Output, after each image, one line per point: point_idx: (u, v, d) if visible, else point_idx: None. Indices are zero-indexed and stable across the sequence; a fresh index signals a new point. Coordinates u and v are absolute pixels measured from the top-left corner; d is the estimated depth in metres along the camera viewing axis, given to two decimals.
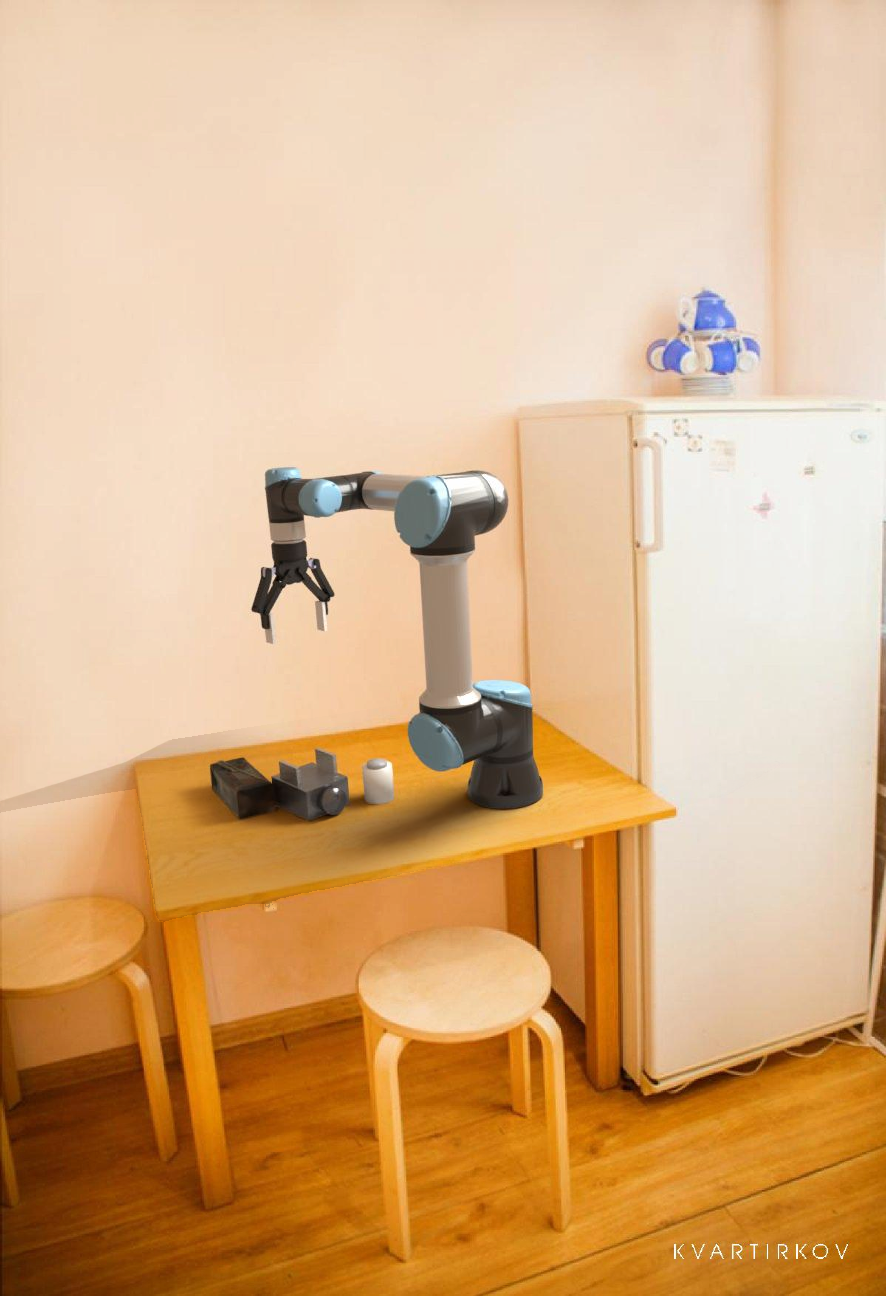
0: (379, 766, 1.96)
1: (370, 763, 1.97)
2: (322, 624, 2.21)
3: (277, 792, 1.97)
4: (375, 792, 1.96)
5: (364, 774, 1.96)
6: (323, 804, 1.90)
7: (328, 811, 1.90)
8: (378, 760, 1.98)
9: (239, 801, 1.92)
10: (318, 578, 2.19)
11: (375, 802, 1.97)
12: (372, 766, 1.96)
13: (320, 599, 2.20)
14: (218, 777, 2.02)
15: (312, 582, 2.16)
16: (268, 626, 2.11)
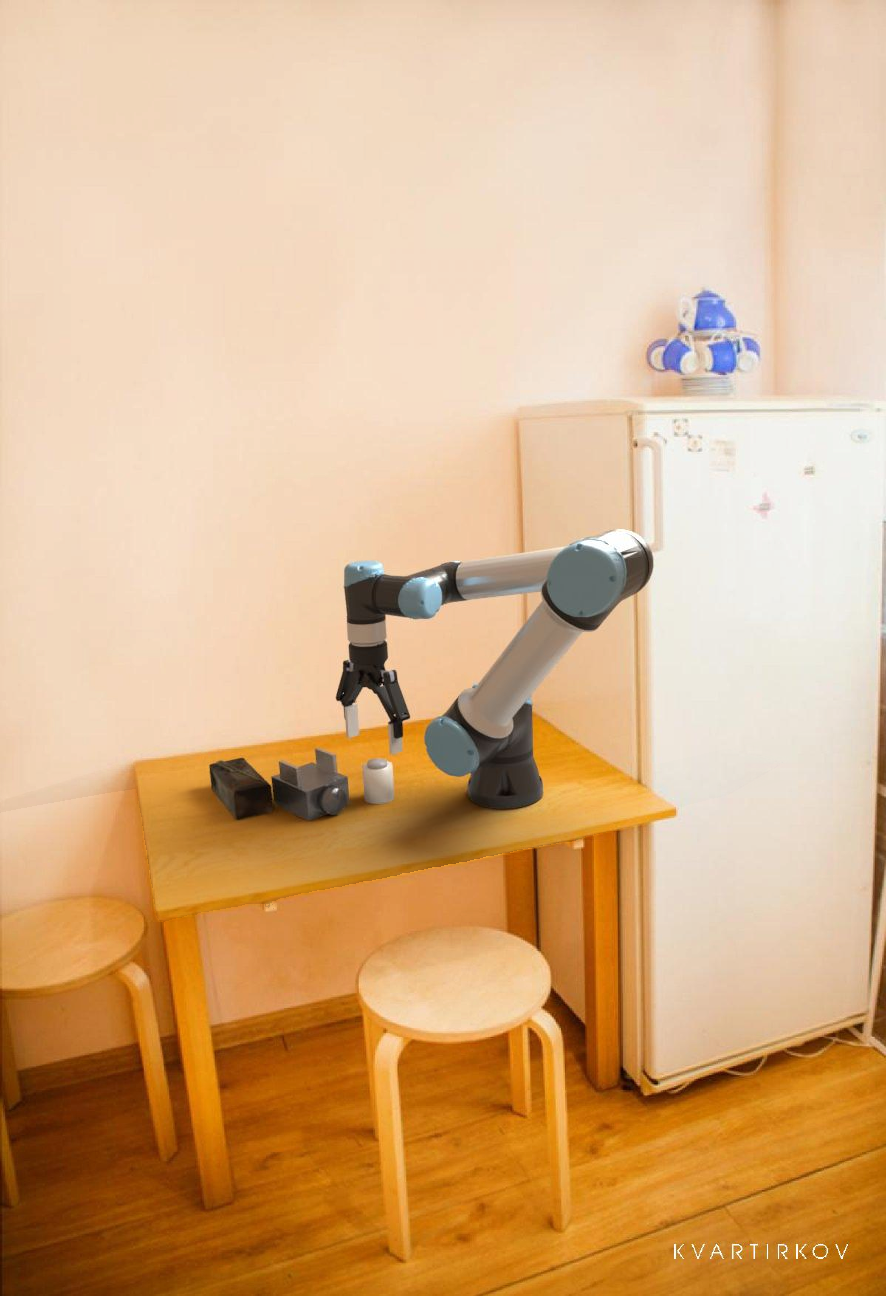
0: (379, 766, 1.96)
1: (370, 763, 1.97)
2: None
3: (277, 792, 1.97)
4: (375, 792, 1.96)
5: (365, 773, 1.96)
6: (323, 804, 1.90)
7: (328, 811, 1.90)
8: (378, 760, 1.98)
9: (236, 802, 1.92)
10: None
11: (375, 802, 1.97)
12: (372, 766, 1.96)
13: None
14: (217, 777, 2.02)
15: (380, 695, 1.90)
16: None
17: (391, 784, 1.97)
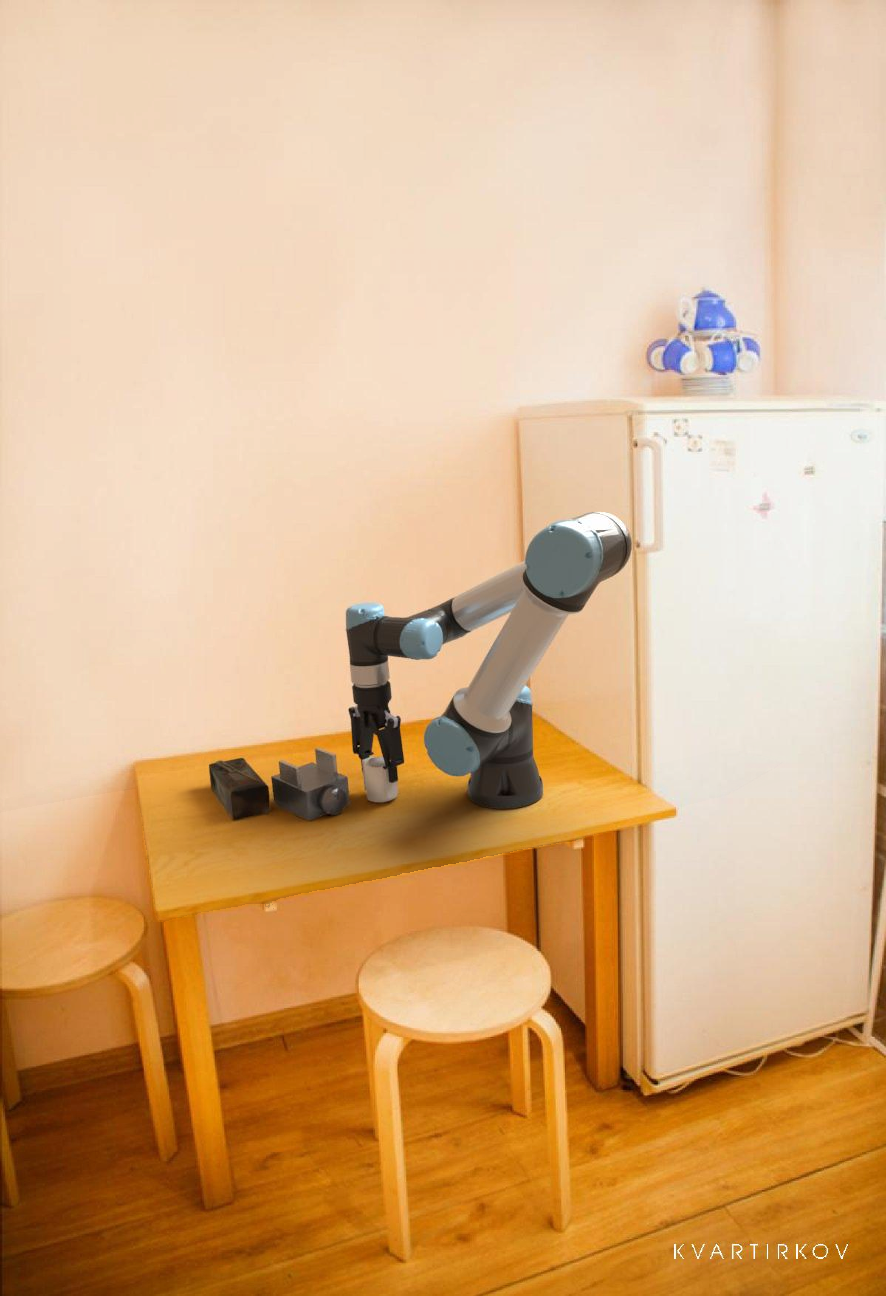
0: (381, 764, 1.95)
1: (372, 761, 1.97)
2: None
3: (277, 792, 1.97)
4: (378, 790, 1.96)
5: (367, 772, 1.96)
6: (323, 804, 1.90)
7: (328, 811, 1.90)
8: (380, 758, 1.98)
9: (233, 802, 1.91)
10: None
11: (378, 800, 1.96)
12: (374, 764, 1.95)
13: None
14: (216, 777, 2.02)
15: (380, 738, 1.93)
16: None
17: None
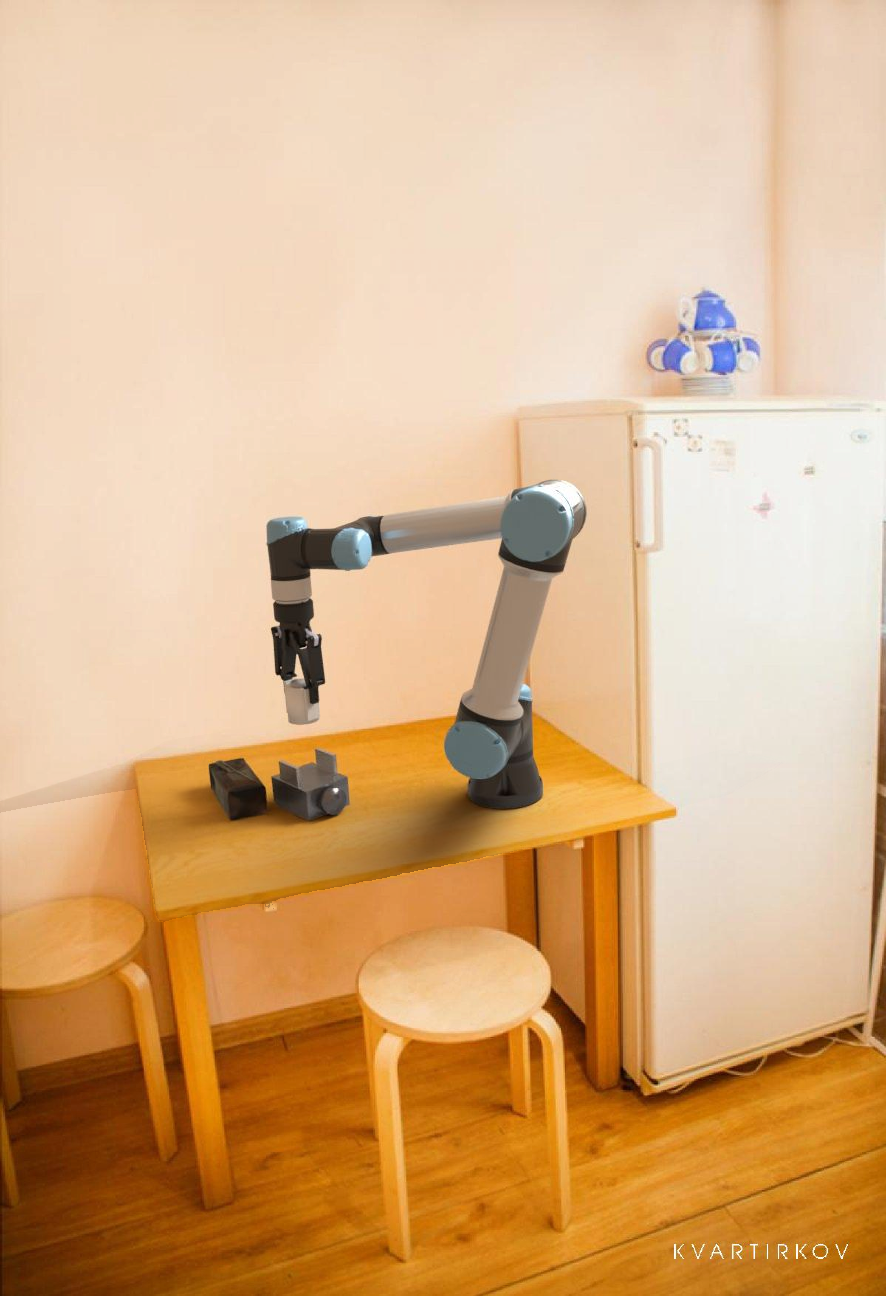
0: (303, 685, 1.90)
1: (294, 682, 1.91)
2: None
3: (277, 792, 1.97)
4: (299, 712, 1.90)
5: (287, 693, 1.90)
6: (323, 804, 1.90)
7: (328, 811, 1.90)
8: (302, 680, 1.92)
9: (230, 802, 1.91)
10: None
11: (298, 722, 1.90)
12: (295, 685, 1.90)
13: None
14: (214, 777, 2.02)
15: (301, 657, 1.87)
16: None
17: None
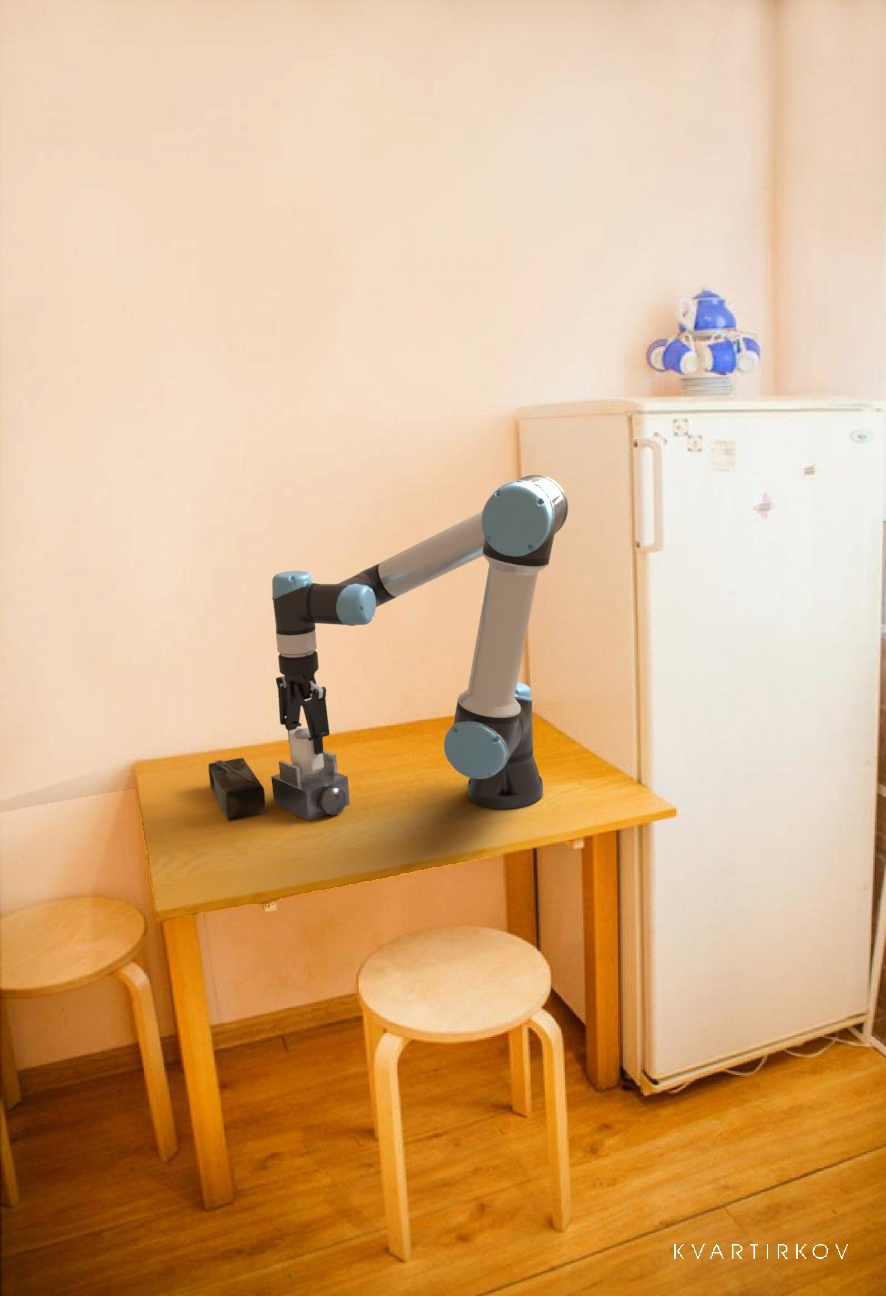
0: (307, 735, 1.92)
1: (298, 733, 1.94)
2: None
3: (277, 792, 1.97)
4: (303, 762, 1.93)
5: (292, 743, 1.93)
6: (323, 804, 1.90)
7: (328, 811, 1.90)
8: (307, 730, 1.95)
9: (228, 803, 1.91)
10: None
11: (303, 772, 1.93)
12: (300, 735, 1.92)
13: None
14: (214, 777, 2.02)
15: (305, 709, 1.90)
16: None
17: None
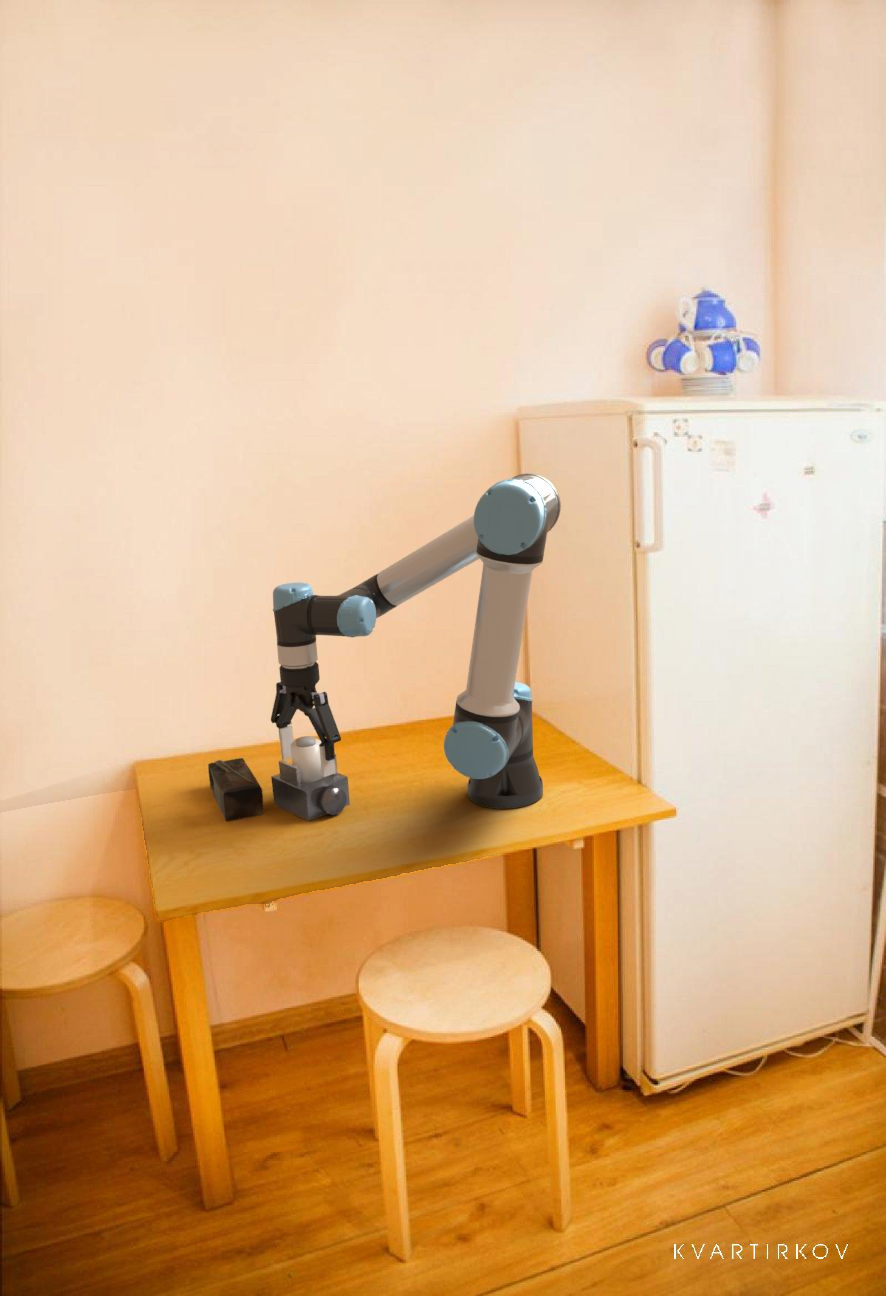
0: (307, 744, 1.93)
1: (298, 741, 1.94)
2: None
3: (277, 792, 1.97)
4: (304, 770, 1.93)
5: (293, 751, 1.93)
6: (323, 804, 1.90)
7: (328, 811, 1.90)
8: (307, 738, 1.95)
9: (226, 803, 1.91)
10: None
11: (304, 780, 1.94)
12: (300, 744, 1.93)
13: None
14: (213, 777, 2.02)
15: (311, 717, 1.89)
16: None
17: (320, 762, 1.94)
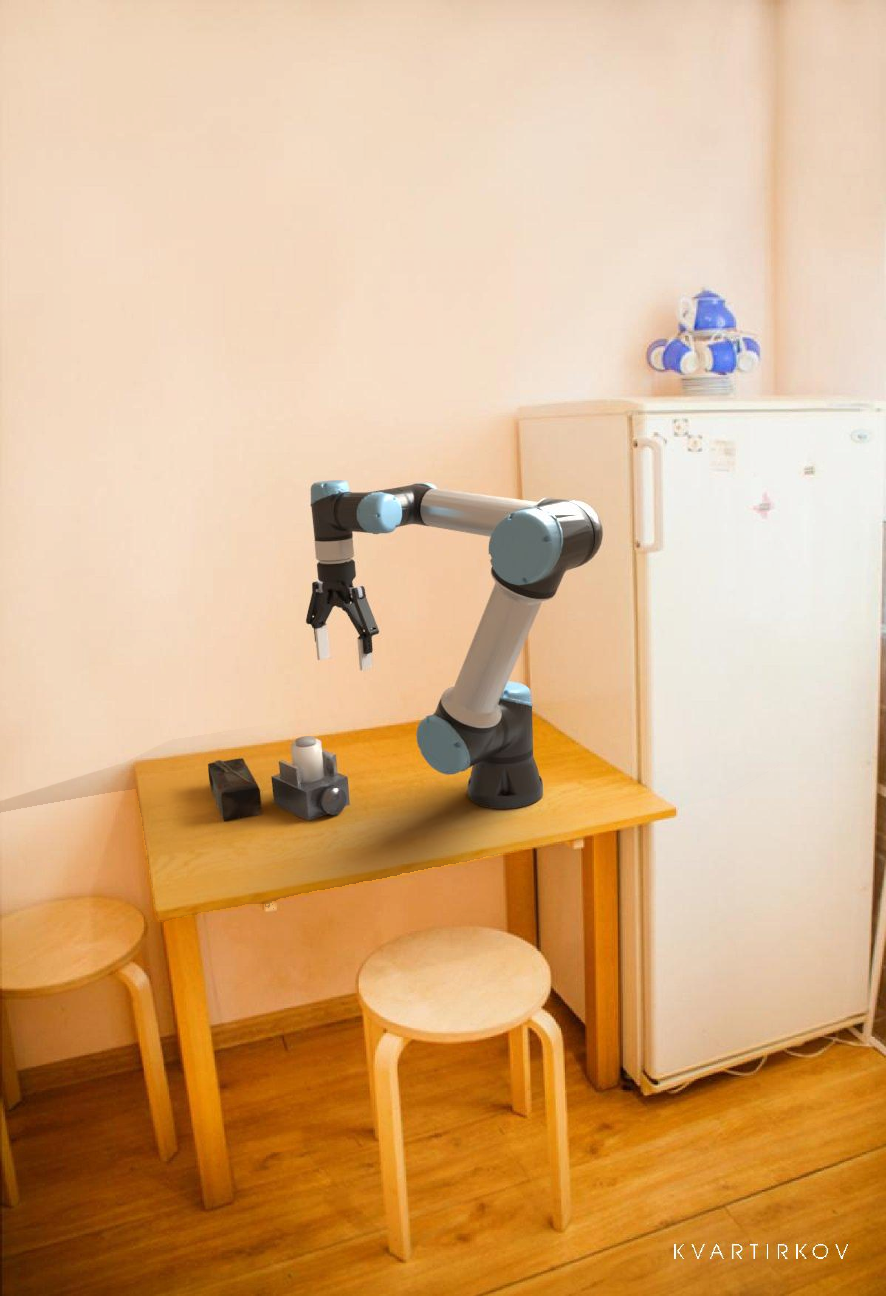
0: (307, 744, 1.93)
1: (298, 741, 1.94)
2: None
3: (277, 792, 1.97)
4: (304, 770, 1.93)
5: (293, 751, 1.93)
6: (323, 804, 1.90)
7: (328, 811, 1.90)
8: (307, 738, 1.95)
9: (224, 803, 1.91)
10: None
11: (304, 780, 1.94)
12: (300, 744, 1.93)
13: None
14: (212, 777, 2.02)
15: (349, 612, 1.93)
16: None
17: (320, 762, 1.94)
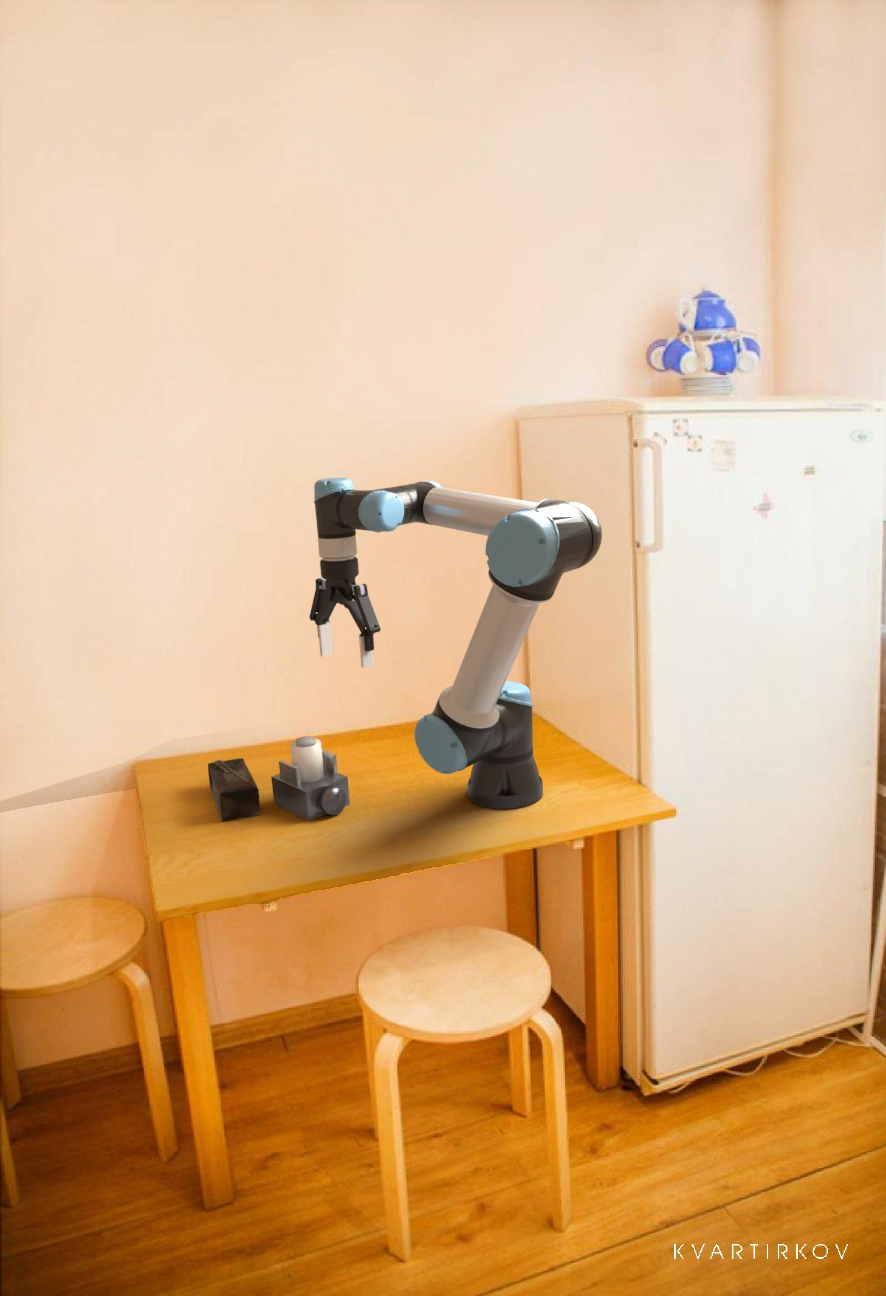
0: (307, 744, 1.93)
1: (298, 741, 1.94)
2: None
3: (277, 792, 1.97)
4: (304, 770, 1.93)
5: (293, 751, 1.93)
6: (323, 804, 1.90)
7: (328, 811, 1.90)
8: (307, 738, 1.95)
9: (222, 803, 1.91)
10: None
11: (304, 780, 1.94)
12: (300, 744, 1.93)
13: None
14: None
15: (351, 609, 1.94)
16: None
17: (320, 762, 1.94)
